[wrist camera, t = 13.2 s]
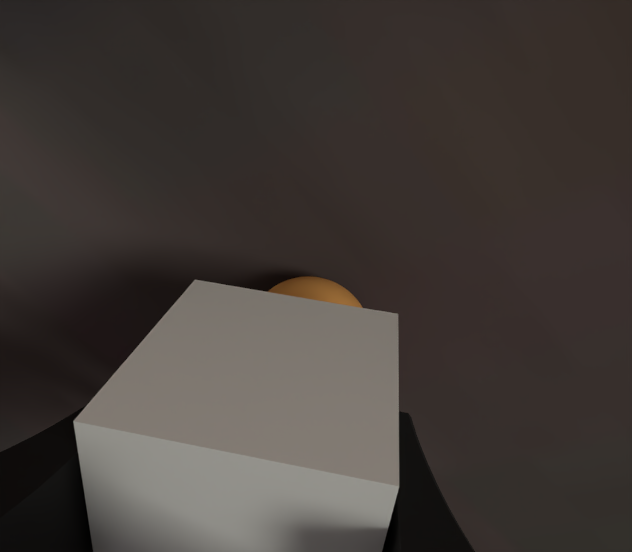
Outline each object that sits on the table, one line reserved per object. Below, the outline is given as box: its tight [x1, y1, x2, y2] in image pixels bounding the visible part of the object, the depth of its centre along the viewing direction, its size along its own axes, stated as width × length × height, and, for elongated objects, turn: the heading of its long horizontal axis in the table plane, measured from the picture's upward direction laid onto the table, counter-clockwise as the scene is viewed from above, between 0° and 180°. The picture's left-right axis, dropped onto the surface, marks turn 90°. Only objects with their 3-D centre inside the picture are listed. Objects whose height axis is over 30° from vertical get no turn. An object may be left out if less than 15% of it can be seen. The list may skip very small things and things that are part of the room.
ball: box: [268, 276, 362, 308], centre depth 19 cm, size 5×5×5 cm
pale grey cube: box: [73, 280, 399, 552], centre depth 13 cm, size 6×6×6 cm
